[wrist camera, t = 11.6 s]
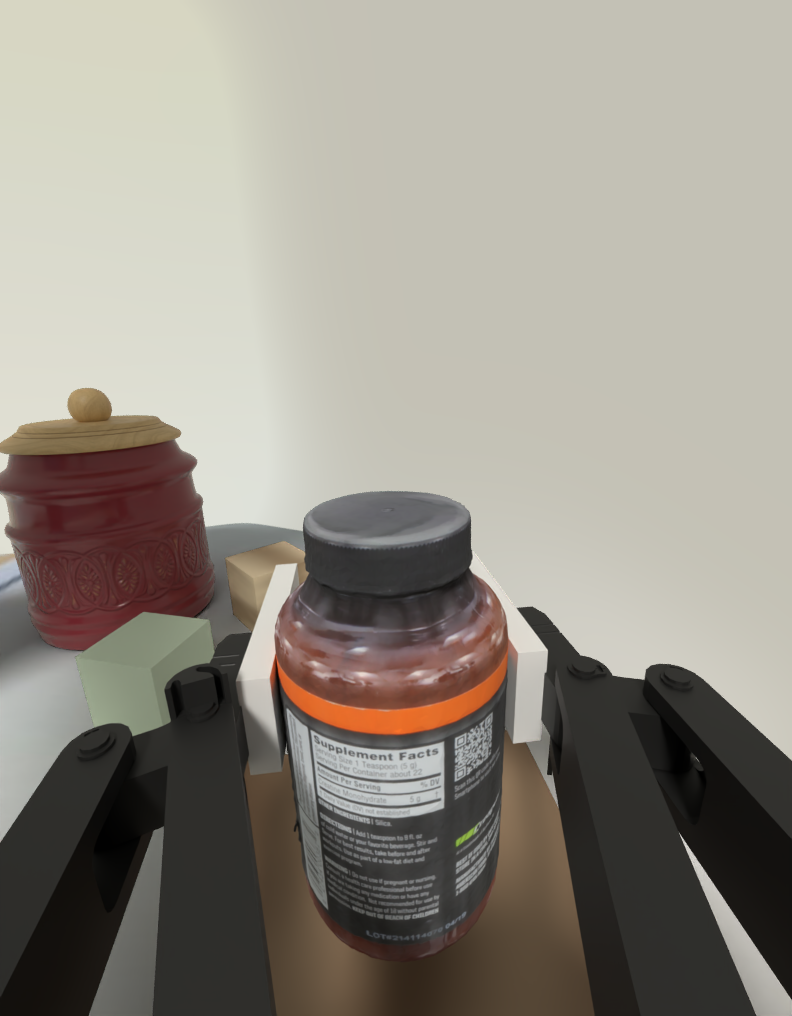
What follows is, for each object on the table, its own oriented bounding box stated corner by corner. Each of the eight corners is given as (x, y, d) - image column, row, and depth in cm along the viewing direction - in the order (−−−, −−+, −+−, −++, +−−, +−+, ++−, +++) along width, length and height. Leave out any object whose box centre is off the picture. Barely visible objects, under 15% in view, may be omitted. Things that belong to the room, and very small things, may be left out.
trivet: (46, 1465, 8) (32, 1446, 8) (232, 777, 21) (229, 760, 21) (769, 1279, 9) (780, 1256, 9) (517, 744, 23) (518, 728, 22)
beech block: (261, 641, 32) (253, 578, 31) (233, 615, 36) (225, 557, 34) (320, 616, 35) (315, 557, 34) (289, 594, 39) (284, 540, 37)
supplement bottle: (357, 754, 18) (339, 474, 14) (510, 802, 16) (530, 487, 12) (261, 920, 12) (198, 536, 9) (474, 1027, 10) (491, 576, 7)
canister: (213, 633, 33) (173, 387, 28) (1, 673, 29) (-91, 395, 24) (220, 565, 45) (193, 383, 40) (70, 587, 41) (18, 388, 36)
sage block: (97, 737, 24) (74, 657, 22) (158, 682, 28) (143, 611, 27) (168, 752, 23) (150, 668, 21) (221, 692, 27) (209, 619, 26)
